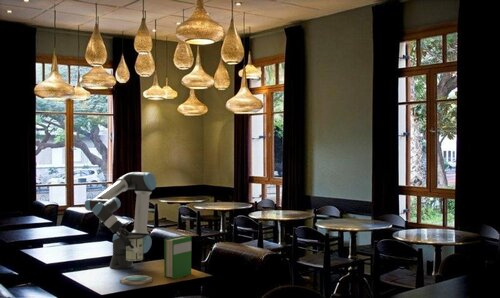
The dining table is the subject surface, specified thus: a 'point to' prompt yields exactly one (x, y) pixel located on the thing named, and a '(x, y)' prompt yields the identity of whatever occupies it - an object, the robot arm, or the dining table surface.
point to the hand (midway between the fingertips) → (139, 250)
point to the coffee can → (138, 242)
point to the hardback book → (177, 256)
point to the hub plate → (136, 280)
